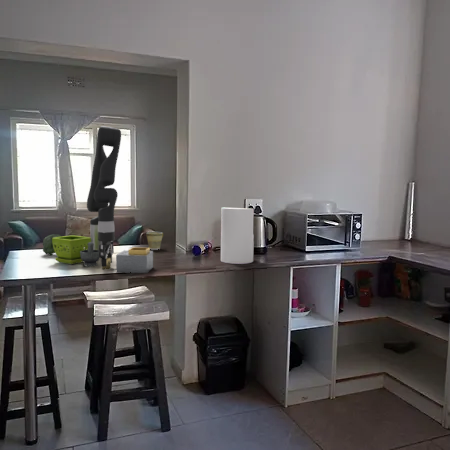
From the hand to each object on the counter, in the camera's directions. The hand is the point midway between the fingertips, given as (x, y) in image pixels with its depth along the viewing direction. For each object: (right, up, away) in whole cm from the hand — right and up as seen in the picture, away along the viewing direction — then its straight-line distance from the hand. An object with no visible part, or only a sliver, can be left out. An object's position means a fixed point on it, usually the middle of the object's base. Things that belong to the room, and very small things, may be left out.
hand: (106, 264), depth 210 cm
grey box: (+14, -2, -1) cm, 14 cm away
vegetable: (-38, +2, +36) cm, 53 cm away
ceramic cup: (+14, +4, +61) cm, 63 cm away
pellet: (0, -2, 0) cm, 2 cm away
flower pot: (-22, 0, +15) cm, 26 cm away
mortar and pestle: (-10, -1, +8) cm, 13 cm away
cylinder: (+62, 0, +26) cm, 67 cm away
